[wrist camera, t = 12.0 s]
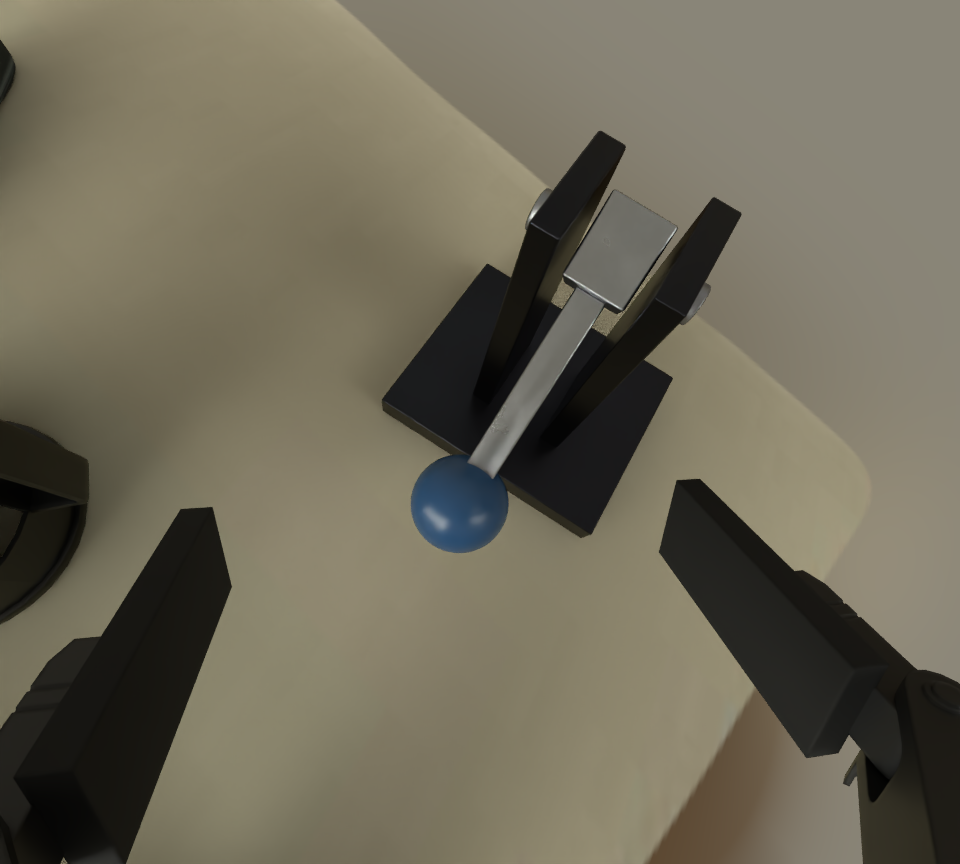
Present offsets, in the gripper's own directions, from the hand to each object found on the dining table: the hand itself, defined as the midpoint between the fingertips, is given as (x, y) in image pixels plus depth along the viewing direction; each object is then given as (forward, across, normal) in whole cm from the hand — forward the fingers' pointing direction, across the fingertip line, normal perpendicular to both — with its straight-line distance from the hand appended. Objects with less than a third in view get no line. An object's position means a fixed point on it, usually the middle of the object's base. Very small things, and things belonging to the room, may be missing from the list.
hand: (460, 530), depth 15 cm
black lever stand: (+13, +5, -1) cm, 14 cm away
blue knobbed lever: (+6, +3, +2) cm, 7 cm away
